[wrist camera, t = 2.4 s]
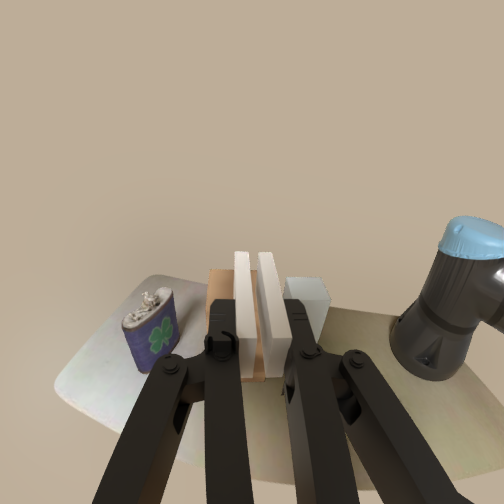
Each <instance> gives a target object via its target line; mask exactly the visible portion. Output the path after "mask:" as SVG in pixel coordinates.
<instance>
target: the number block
mask: <svg viewBox="0 0 504 504" xmlns="http://www.w3.org/2000/svg"><path fill="white" fill-rule="evenodd" d="M283 299H299V300H300V301H301V302H302V303H303V304H304V306H305V309H306V312H307V315H308V318H309V321H310V325H311V328H312V331H313V334H314V338H315V341H316V343H318V340H319V337H320V334H321V331H322V328H323V325H324V322H325V319H326V315H327V312H328V309H329V305H330V302H331V298H330V296H329V294H328V292H327V289H326V287H325V285H324V283H323V281H322V278H321V277H286V282H285V288H284V294H283Z"/></svg>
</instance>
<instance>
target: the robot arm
mask: <svg viewBox="0 0 504 504" xmlns="http://www.w3.org/2000/svg"><path fill="white" fill-rule="evenodd" d="M438 248H439V249H438V252H437V255H436V257H435V260H434V263H433V265H432V268H431V270H430V272H429V275H428V277H427V279H426V281H425V284H424V286H423V289H422V291H421V293H420V295H419V297H418V298H417V300H416V301H415V302H414V303H413V304H412V305H411V306H410V307H409V308H408V309H407V310H406V311H405V312H404V313H403V314H402V315H401V316H400V317H399V318H398V319H397V321H396V323H395V325H394V327H393V329H392V331H391V334H390V345H391V348H392V351H393V353H394V355H395V357H396V358H397V360H398V361H399V362H400V364H401V365H402V366H403V367H404V368H405V369H407V370H408V371H409V372H411V373H412V374H414V375H416V376H417V377H420V378H422V379H425V380H429V381H443V380H446V379H449V378H450V377H452V376H453V375H454V374H455V373H456V372H457V371H458V369H459V368H460V367H461V366H462V364H463V362H464V360H465V357H466V354H467V351H468V348H469V345H470V342H471V338H472V335H473V332H474V330H475V329H476V327H477V325H478V324H479V322H480V321H484V322H485V323H487V324H489V325H490V326H492V327H494V328H495V329H497V330H498V331H500V332H502V333H503V334H504V228H503V227H502V226H500V225H498V224H496V223H493V222H491V221H488V220H484V219H481V218H477V217H472V216H458V217H455V218H453V219H452V220H450V222H449V223H448V225H447V227H446V230H445V232H444V235H443V238H442V240H441V241H440V242H439V245H438ZM255 292H256V300H257V309H258V317H259V326H260V334H261V342H262V351H263V359H264V368H265V376H266V378H271V377H282V376H283V372H284V374H285V382H284V385H283V389H282V394H281V395H284V393H285V401H286V409H287V417H288V425H289V434H290V443H291V451H292V460H293V469H294V478H295V487H296V497H297V504H360V502H359V497H358V492H357V487H356V482H355V477H354V472H353V467H352V463H351V458H350V453H349V449H348V444H347V440H346V436H345V432H346V434H347V436H348V438H349V440H350V441H351V443H352V445H353V447H354V449H355V451H356V453H357V455H358V456H359V458H360V460H361V462H362V464H363V466H364V468H365V469H366V471H367V473H368V475H369V477H370V479H371V481H372V483H373V484H374V486H375V488H376V490H377V492H378V494H379V496H380V498H381V499H382V501H383V503H384V504H474V503H472V502H471V501H469V500H468V499H466V498H465V497H464V496H462V495H461V494H459V493H458V492H457V491H456V489H455V487H454V485H453V484H452V482H451V480H450V479H449V477H448V475H447V474H446V472H445V471H444V469H443V467H442V466H441V464H440V462H439V461H438V459H437V458H436V456H435V454H434V453H433V451H432V450H431V448H430V446H429V445H428V443H427V442H426V440H425V439H424V437H423V436H422V434H421V432H420V431H419V429H418V428H417V426H416V425H415V423H414V422H413V420H412V419H411V417H410V416H409V414H408V413H407V411H406V410H405V408H404V407H403V405H402V404H401V402H400V401H399V399H398V398H397V396H396V395H395V393H394V392H393V390H392V389H391V387H390V386H389V384H388V383H387V382H386V380H385V379H384V377H383V376H382V374H381V373H380V371H379V370H378V369H377V367H376V366H375V364H374V363H373V361H372V360H371V359H370V357H369V356H368V355H367V354H366V353H364V352H362V351H360V350H349V351H347V352H345V354H344V355H343V356H341V355H335V354H331V353H327V352H325V351H323V349H322V347H321V346H320V345H318V344H317V343H316V341H315V338H314V334H313V331H312V328H311V325H310V321H309V318H308V315H307V312H306V309H305V306H304V304H303V303H302V302H301V301H300V300H299V299H283V296H282V292H281V288H280V284H279V279H278V276H277V271H276V267H275V263H274V259H273V255H272V252H259V255H258V266H257V277H256V288H255ZM204 345H205V350H204V351H203V352H202V353H201V354H199V355H197V356H194V357H191V358H186V359H184V358H183V357H182V356H180V355H177V354H165V355H162V356H161V357H159V358H158V359H157V360H156V362H155V363H154V365H153V367H152V369H151V371H150V374H149V376H148V378H147V380H146V382H145V384H144V386H143V388H142V390H141V392H140V394H139V397H138V399H137V401H136V403H135V405H134V407H133V409H132V411H131V414H130V416H129V418H128V420H127V422H126V425H125V427H124V429H123V431H122V433H121V436H120V438H119V440H118V442H117V445H116V447H115V449H114V452H113V454H112V456H111V459H110V461H109V463H108V465H107V468H106V470H105V473H104V475H103V477H102V480H101V482H100V485H99V487H98V490H97V492H96V494H95V497H94V499H93V502H92V504H160V503H161V500H162V496H163V493H164V490H165V487H166V484H167V481H168V478H169V475H170V472H171V469H172V465H173V463H174V460H175V457H176V454H177V450H178V447H179V444H180V441H181V438H182V435H183V432H184V429H185V426H186V423H187V420H188V417H189V414H190V411H191V408H192V405H193V403H195V402H199V401H203V400H205V402H204V421H205V473H206V497H207V504H254V500H253V492H252V483H251V475H250V466H249V457H248V448H247V438H246V428H245V418H244V408H243V397H242V386H241V378H253V370H254V362H255V353H256V345H257V331H256V322H255V312H254V302H253V293H252V283H251V273H250V265H249V254H248V252H235V263H234V299H215V300H214V301H213V302H212V304H211V305H210V315H209V327H208V334H207V335H206V336H205V340H204ZM344 430H345V431H344Z"/></svg>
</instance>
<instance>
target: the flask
mask: <svg viewBox="0 0 504 504" xmlns="http://www.w3.org/2000/svg"><path fill="white" fill-rule="evenodd" d="M142 295H145V297H144V298H145V300H144V301H143V303H142V304H141V307H140V308H138V309H137V310H136V311H134V312H132V313H129V314H128V315H127V316H126V317H125V318H124V319H123V320H122V321H123V322H122V330H123V332H124V334H125V338H126V340H127V342H128V345H129V348H130V350H131V353H132V356H133V358H134V361H135V363H136V366H137V368H138V371H139V372H141V373H143V374H149V373H150V371H151V369H152V367H153V365H154V363H155V362H156V360H157V359H158V358H159V357H161V356H162V355H165V354H171V352H172V351H173V349H174V347H175V346H176V345H177V343H178V341H179V330H178V324H177V319H176V311H175V306H174V298H173V291H172V290H171V289H170V288H167V287H161V288H159V289H158V290H157V291H156V292H155V293H154V294H153V296H152V295H150V294H149V292H145V293H142Z"/></svg>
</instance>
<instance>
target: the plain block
mask: <svg viewBox="0 0 504 504" xmlns="http://www.w3.org/2000/svg"><path fill="white" fill-rule="evenodd" d="M250 273H251V283H252V293H253V302H254V312H255V322H256V331H257V345H256V353H255V362H254V370H253V378H241V382H264V381H265V368H264V359H263V351H262V342H261V334H260V326H259V317H258V309H257V300H256V292H255V288H256V277H257V270H250ZM215 299H234V270H221V269H210V273H209V281H208V290H207V300H206V325H207V334H208V327H209V315H210V305H211V304H212V302H213V301H214V300H215Z"/></svg>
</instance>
